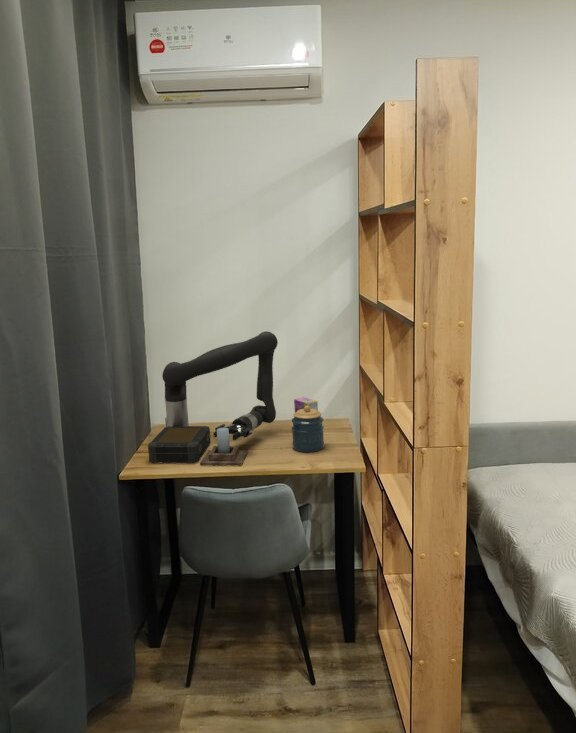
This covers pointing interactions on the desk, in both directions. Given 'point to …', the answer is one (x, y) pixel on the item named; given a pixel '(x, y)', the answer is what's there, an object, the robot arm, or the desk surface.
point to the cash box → (179, 444)
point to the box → (305, 403)
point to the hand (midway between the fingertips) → (224, 436)
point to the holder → (224, 457)
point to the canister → (307, 430)
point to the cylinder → (223, 440)
